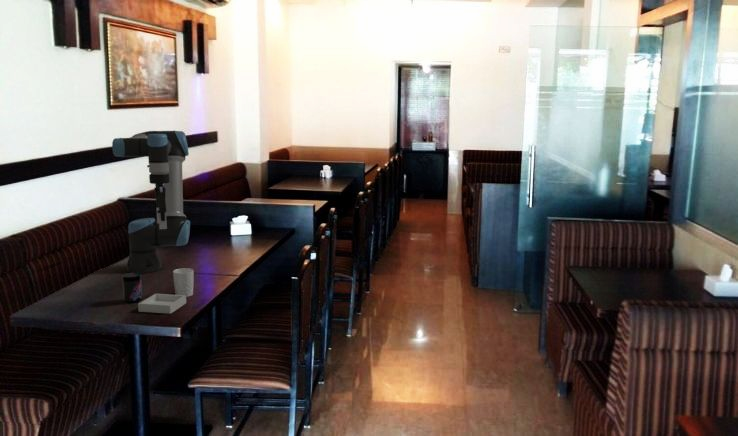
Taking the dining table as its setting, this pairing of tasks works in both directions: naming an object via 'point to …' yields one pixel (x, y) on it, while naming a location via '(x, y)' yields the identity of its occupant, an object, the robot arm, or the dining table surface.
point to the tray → (162, 303)
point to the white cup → (183, 281)
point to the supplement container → (132, 287)
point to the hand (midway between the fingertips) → (161, 226)
